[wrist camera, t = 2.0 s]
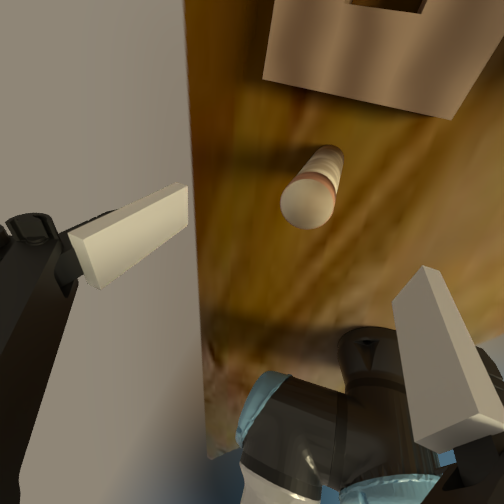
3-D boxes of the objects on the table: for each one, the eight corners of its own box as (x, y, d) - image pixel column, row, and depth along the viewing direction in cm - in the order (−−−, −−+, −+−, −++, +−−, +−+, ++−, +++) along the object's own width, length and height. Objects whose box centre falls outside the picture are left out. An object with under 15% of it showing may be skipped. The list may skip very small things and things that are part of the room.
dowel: (349, 149, 28) (343, 187, 16) (336, 181, 31) (322, 236, 18) (317, 140, 29) (287, 171, 17) (307, 172, 31) (274, 219, 19)
